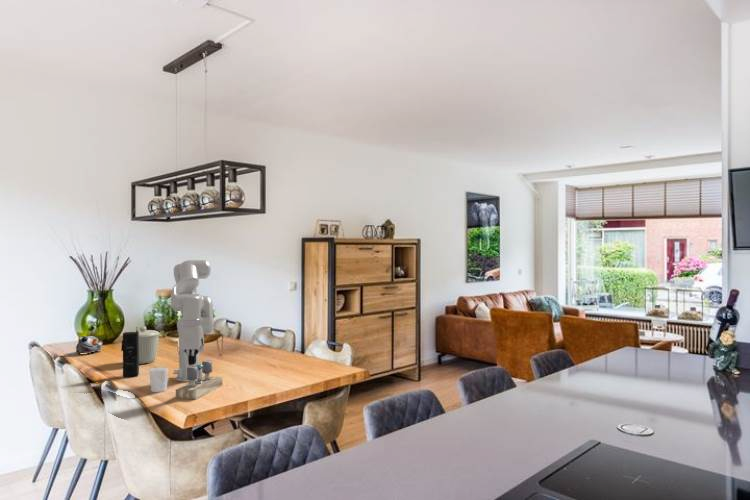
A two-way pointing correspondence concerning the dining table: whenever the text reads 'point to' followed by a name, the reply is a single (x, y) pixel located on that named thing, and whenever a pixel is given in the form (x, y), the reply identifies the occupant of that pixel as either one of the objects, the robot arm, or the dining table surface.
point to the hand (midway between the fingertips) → (192, 364)
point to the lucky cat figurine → (88, 344)
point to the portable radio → (130, 354)
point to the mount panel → (198, 388)
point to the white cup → (159, 379)
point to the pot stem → (199, 374)
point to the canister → (147, 345)
